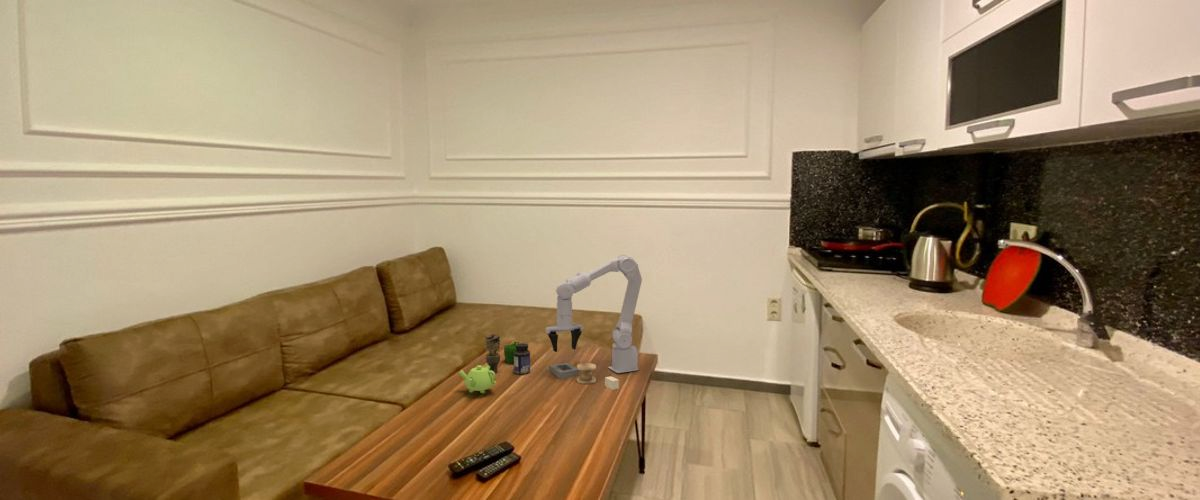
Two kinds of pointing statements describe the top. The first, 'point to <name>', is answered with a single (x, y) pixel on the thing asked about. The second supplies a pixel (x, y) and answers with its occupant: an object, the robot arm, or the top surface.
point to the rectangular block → (612, 383)
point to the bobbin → (586, 373)
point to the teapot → (479, 379)
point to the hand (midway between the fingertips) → (564, 350)
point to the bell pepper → (510, 352)
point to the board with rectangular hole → (567, 373)
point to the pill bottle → (522, 359)
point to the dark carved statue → (492, 351)
